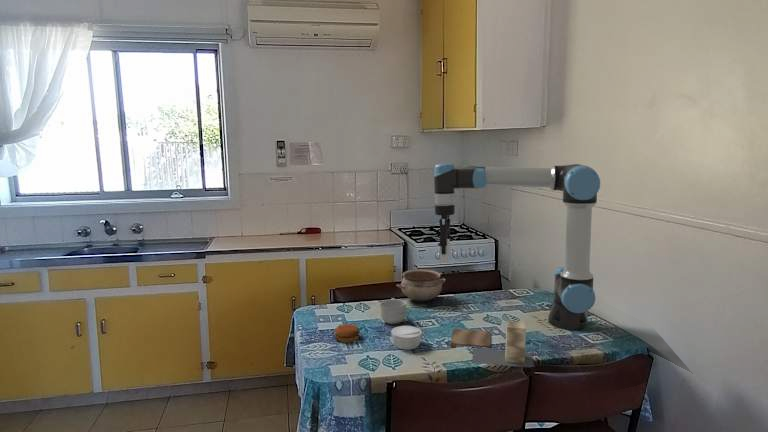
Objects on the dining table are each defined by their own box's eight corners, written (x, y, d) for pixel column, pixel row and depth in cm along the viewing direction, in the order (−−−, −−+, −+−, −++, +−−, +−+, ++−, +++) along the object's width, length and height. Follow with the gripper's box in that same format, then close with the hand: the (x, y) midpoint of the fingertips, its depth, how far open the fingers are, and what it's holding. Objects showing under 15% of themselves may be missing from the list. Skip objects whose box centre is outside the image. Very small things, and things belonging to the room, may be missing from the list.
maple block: (523, 355, 178) (524, 322, 176) (524, 363, 172) (525, 328, 170) (505, 354, 179) (506, 320, 177) (505, 361, 173) (507, 327, 171)
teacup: (403, 327, 207) (403, 307, 206) (377, 325, 209) (377, 306, 208) (409, 315, 220) (409, 297, 219) (384, 313, 222) (384, 295, 221)
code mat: (531, 355, 180) (531, 353, 180) (534, 370, 169) (534, 367, 169) (472, 351, 184) (473, 348, 184) (472, 365, 173) (472, 362, 173)
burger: (349, 345, 189) (349, 333, 189) (329, 340, 194) (329, 328, 194) (364, 336, 198) (364, 324, 197) (345, 331, 203) (345, 320, 202)
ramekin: (412, 353, 182) (412, 339, 181) (385, 346, 188) (385, 333, 187) (427, 343, 191) (427, 329, 191) (400, 336, 197) (401, 323, 196)
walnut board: (490, 335, 198) (490, 331, 198) (490, 350, 185) (490, 346, 185) (453, 332, 201) (453, 328, 201) (450, 346, 188) (450, 342, 187)
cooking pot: (405, 310, 227) (405, 282, 225) (388, 297, 244) (388, 272, 242) (455, 302, 236) (455, 276, 235) (435, 291, 254) (435, 267, 252)
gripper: (437, 200, 212) (438, 251, 215) (431, 208, 188) (432, 265, 190) (456, 200, 210) (456, 251, 213) (452, 208, 186) (453, 266, 189)
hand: (445, 258), depth 202 cm, fingers open, 13 cm apart
